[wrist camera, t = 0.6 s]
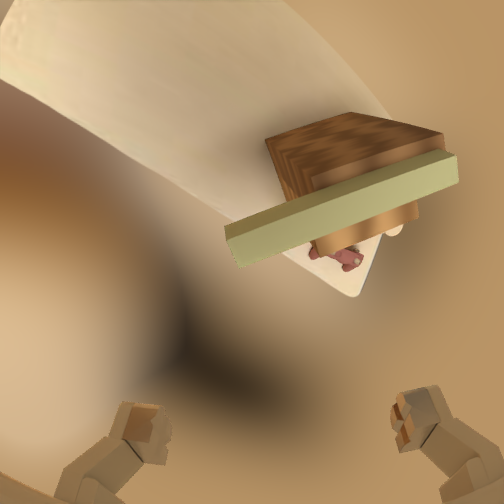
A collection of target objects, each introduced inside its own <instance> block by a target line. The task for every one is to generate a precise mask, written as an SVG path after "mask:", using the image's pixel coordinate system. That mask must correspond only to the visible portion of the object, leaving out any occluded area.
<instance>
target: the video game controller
mask: <svg viewBox="0 0 504 504" xmlns="http://www.w3.org/2000/svg"><path fill="white" fill-rule="evenodd" d="M354 250H355V251H350V250H347V249H341V250H339V251H336V252H334V253H331V254H329V255H326V256H328V257H330V258H333V259H336V260H337V261H338V262H340V263H342V264H344V265H343V271H345V272H348V271H350V270H352V269H354V268H356V267H358V266H359V265H360V264H361V262H362V260H363V257H364V255H362V254H360V253H359V252H358V251H359V250H358V249H354ZM309 257H310V259H312V260H314V259H317V258H318V257H319V255H318V254H317V252H316V251H315V249H314V248H313V249H312V250H311V251H310V253H309Z"/></svg>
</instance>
